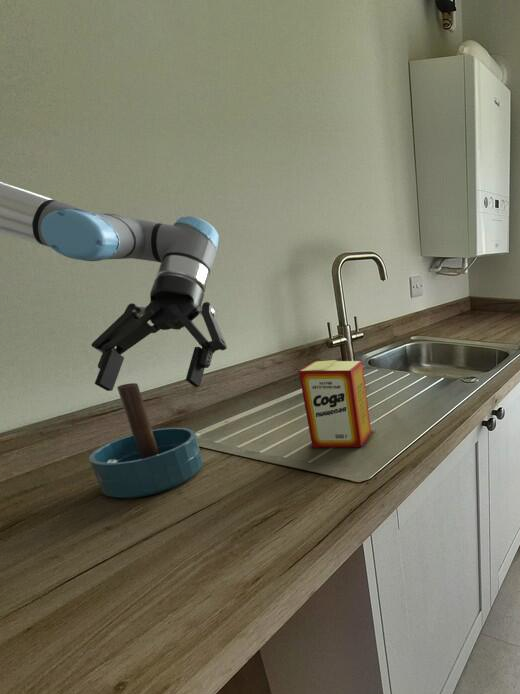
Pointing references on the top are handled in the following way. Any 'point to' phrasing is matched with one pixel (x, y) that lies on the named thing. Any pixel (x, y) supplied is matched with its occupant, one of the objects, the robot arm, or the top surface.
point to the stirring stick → (138, 420)
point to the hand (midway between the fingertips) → (148, 385)
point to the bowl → (147, 464)
